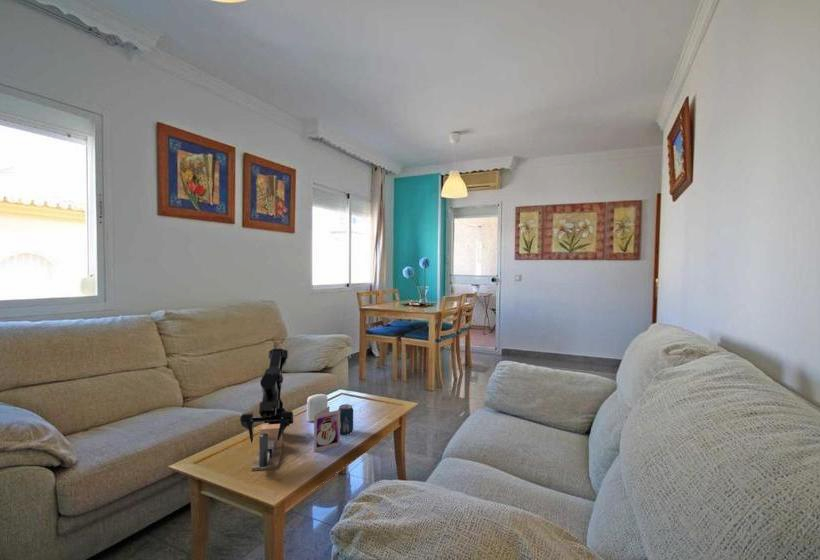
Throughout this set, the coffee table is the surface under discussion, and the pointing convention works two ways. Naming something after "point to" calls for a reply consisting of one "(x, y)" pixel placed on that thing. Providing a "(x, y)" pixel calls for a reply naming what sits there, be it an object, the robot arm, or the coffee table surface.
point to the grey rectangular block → (272, 446)
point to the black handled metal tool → (263, 451)
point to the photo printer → (315, 405)
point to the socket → (272, 433)
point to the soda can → (346, 419)
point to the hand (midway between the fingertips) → (264, 441)
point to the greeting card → (326, 429)
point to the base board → (271, 462)
